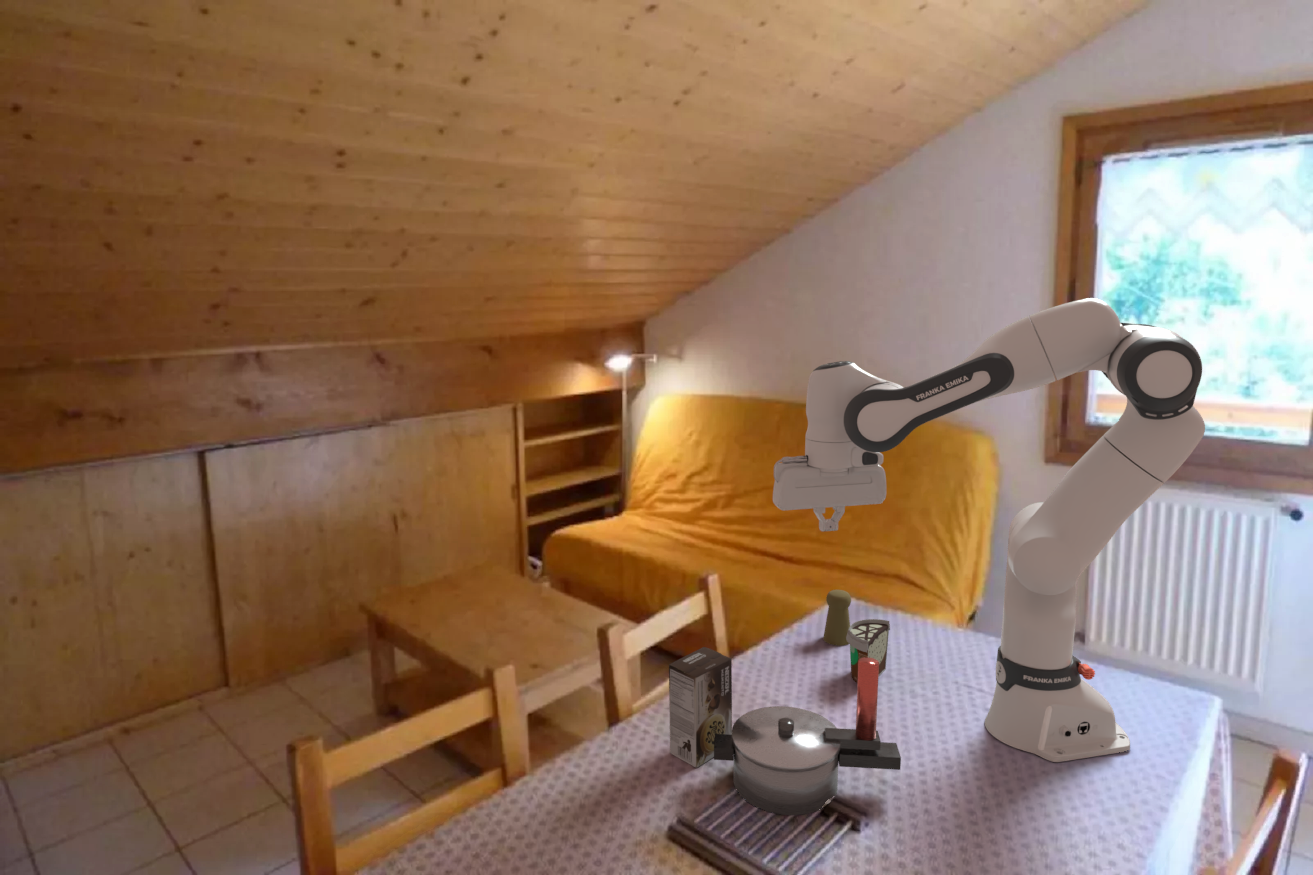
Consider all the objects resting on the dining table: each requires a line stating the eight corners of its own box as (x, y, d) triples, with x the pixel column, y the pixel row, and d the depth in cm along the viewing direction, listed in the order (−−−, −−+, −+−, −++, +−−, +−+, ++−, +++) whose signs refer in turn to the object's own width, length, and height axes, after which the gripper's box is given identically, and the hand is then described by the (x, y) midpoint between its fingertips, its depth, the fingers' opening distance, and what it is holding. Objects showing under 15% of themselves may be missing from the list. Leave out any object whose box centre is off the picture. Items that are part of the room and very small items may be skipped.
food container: (859, 658, 170) (861, 613, 168) (888, 666, 166) (890, 620, 164) (834, 682, 160) (836, 634, 158) (865, 691, 156) (867, 642, 154)
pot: (712, 810, 122) (712, 767, 121) (716, 749, 138) (716, 711, 136) (906, 822, 119) (908, 778, 117) (888, 758, 134) (890, 719, 133)
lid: (730, 767, 120) (730, 682, 117) (733, 709, 136) (734, 633, 134) (887, 777, 117) (891, 689, 115) (871, 716, 134) (874, 638, 131)
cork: (852, 646, 175) (853, 598, 173) (823, 644, 176) (824, 596, 174) (851, 634, 181) (853, 587, 179) (823, 632, 182) (824, 585, 180)
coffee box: (704, 732, 143) (704, 645, 140) (733, 746, 139) (733, 657, 135) (667, 753, 137) (667, 663, 134) (696, 769, 132) (696, 676, 129)
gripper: (780, 461, 139) (779, 539, 142) (892, 454, 143) (889, 531, 146) (767, 453, 145) (766, 529, 148) (875, 447, 149) (872, 521, 152)
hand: (828, 530), depth 147 cm, fingers closed
